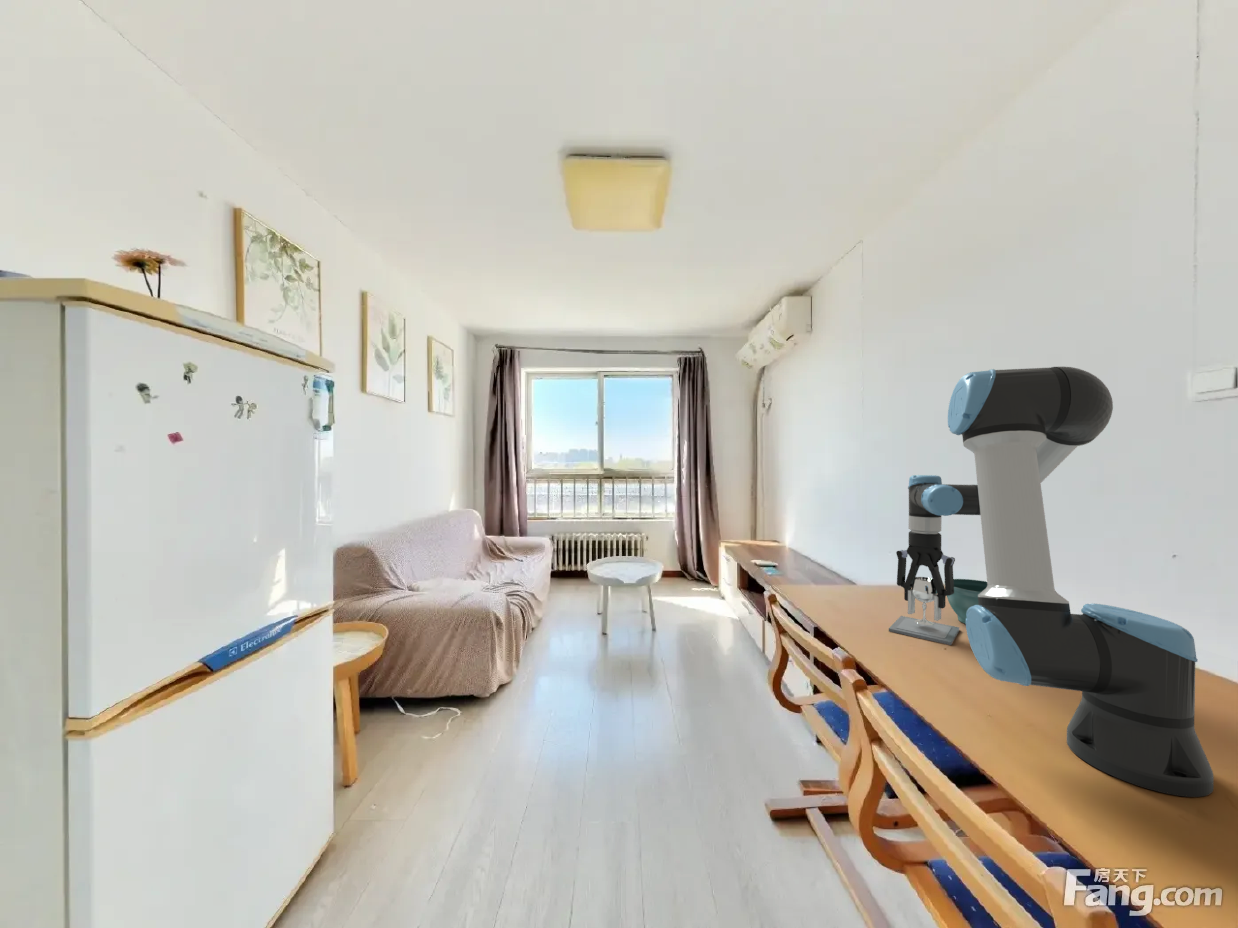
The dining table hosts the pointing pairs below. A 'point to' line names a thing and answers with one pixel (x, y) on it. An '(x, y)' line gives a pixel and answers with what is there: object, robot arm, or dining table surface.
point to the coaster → (925, 630)
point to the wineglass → (924, 595)
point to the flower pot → (965, 596)
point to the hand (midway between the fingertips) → (924, 615)
